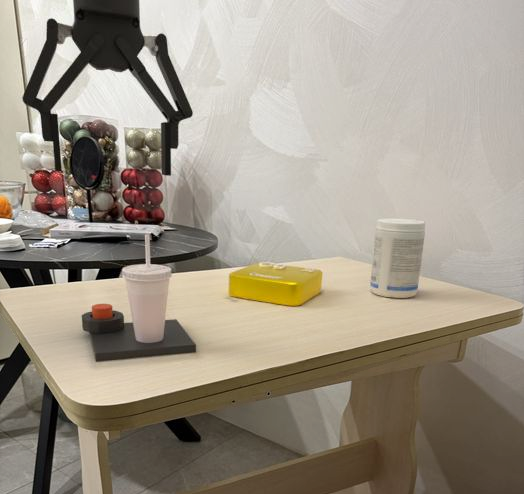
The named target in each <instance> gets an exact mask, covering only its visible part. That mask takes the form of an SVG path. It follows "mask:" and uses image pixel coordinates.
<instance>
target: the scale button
mask: <svg viewBox="0 0 524 494" xmlns="http://www.w3.org/2000/svg"><path fill="white" fill-rule="evenodd" d="M113 310H114V309H113V305H112V304H110V303H95V304H92V306H91V311H92V316H93V318H94V319H107V318H112V317H113Z"/></svg>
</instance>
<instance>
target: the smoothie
mask: <svg viewBox="0 0 524 494" xmlns="http://www.w3.org/2000/svg"><path fill="white" fill-rule="evenodd" d="M150 242H151V241H150V234H148V233H147V234H144V246H145V248H144V249H145V263H139V264H131V265H126V266H124V267H123V268H122V275H121V276H122V278H123V279H124V281H125V285H126V292H127V296H128V297H127V298H128V302H129V303H128V304H129V309H130V313H131V320H132V322H133V326H134V331H135V337H136V340H137V341H139V342H143V343H154V342H159V341H161V340H163V335H164V326H165V320H166V315H167V305H168V304H167V303H168V294H169V285H170V278H172V276H173V275H172V268H171V267H169V266H167V265H163V264H153V263H151V243H150Z"/></svg>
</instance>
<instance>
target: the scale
mask: <svg viewBox="0 0 524 494" xmlns="http://www.w3.org/2000/svg"><path fill="white" fill-rule="evenodd" d="M112 310H113V317H112V318H107V319H94V318H93V316H92V310H91V311H87V312H84V313H83V314H82V315H81V326H82V331H84V332H87V333H88V335H89V339H90V343H91V347H92V352H93V355H94V360H95V362H96V363H99V362H109V361H119V360H120V361H121V360H131V359H139V358H141V359H142V358H151V357H162V356H173V355H183V354H194V353H197V345H196V343H195V342H194V340H193V339H192V338H191V336H190V335H189V334H188V332H187V331H186V330H185V328H184V327H183V326H182V325H181V324H180V322H179V321H178V319H176V318H175V319H173V318H172V319H165V326H164V335H163V340H161V341H159V342H154V343H143V342H139V341H137V340H136V337H135V331H134V326H133V321H132V322H130V321H129V322H125V315H124V313H123V312H121V311H118V310H114V309H112Z"/></svg>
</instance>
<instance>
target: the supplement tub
mask: <svg viewBox="0 0 524 494" xmlns="http://www.w3.org/2000/svg"><path fill="white" fill-rule="evenodd" d="M425 236H426V221H423V220H420V219H419V220H418V219H410V218H379V219H377V220H376V226H375V232H374V241H373V242H374V243H373V253H372V264H371V273H370V275H371V276H370V286H369V289H370V291H371V293H373V294H374V295H377V296H380V297H384V298H394V299H408V298H412V297H414V296H416V295H417V293H418V289H419V281H420V273H421V268H422V259H423V251H424V244H425Z"/></svg>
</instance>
